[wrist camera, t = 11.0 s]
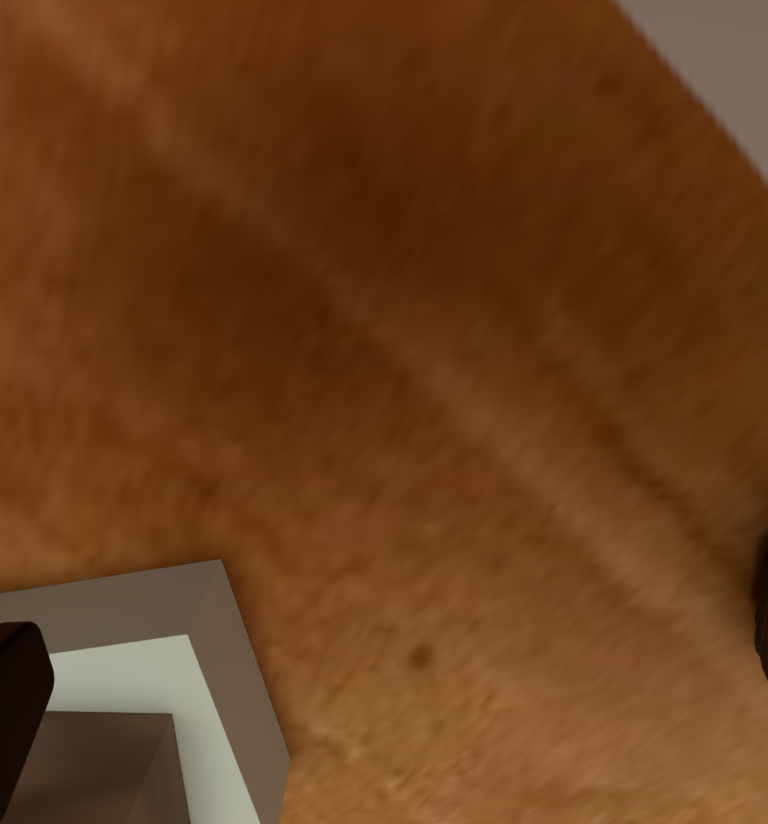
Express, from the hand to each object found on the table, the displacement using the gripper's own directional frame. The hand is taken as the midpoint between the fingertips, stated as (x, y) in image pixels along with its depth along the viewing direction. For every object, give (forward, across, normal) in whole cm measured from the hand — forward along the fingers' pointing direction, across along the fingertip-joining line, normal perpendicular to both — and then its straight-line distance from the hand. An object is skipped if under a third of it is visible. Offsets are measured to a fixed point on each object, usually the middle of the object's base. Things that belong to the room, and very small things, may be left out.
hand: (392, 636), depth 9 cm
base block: (+12, +10, +12) cm, 20 cm away
